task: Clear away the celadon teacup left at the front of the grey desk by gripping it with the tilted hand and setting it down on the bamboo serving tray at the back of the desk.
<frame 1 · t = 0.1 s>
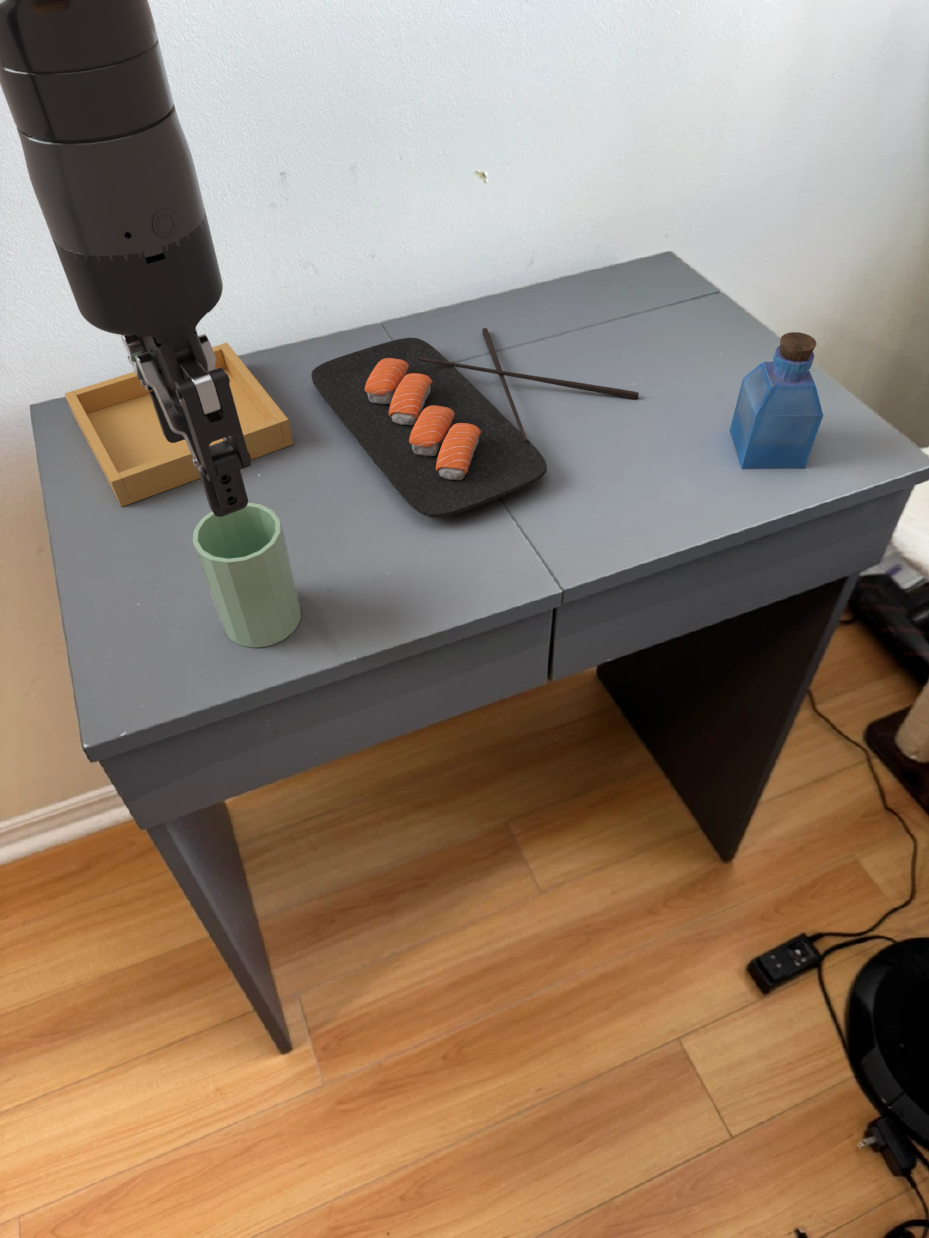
hand: (205, 471, 55), 20 cm above the table, tool pointing down, fingers open, 8 cm apart
perfume bottle: (765, 450, 88), on the table
teacup: (262, 617, 74), on the table
tray: (181, 431, 92), on the table
sushi plate: (486, 410, 93), on the table
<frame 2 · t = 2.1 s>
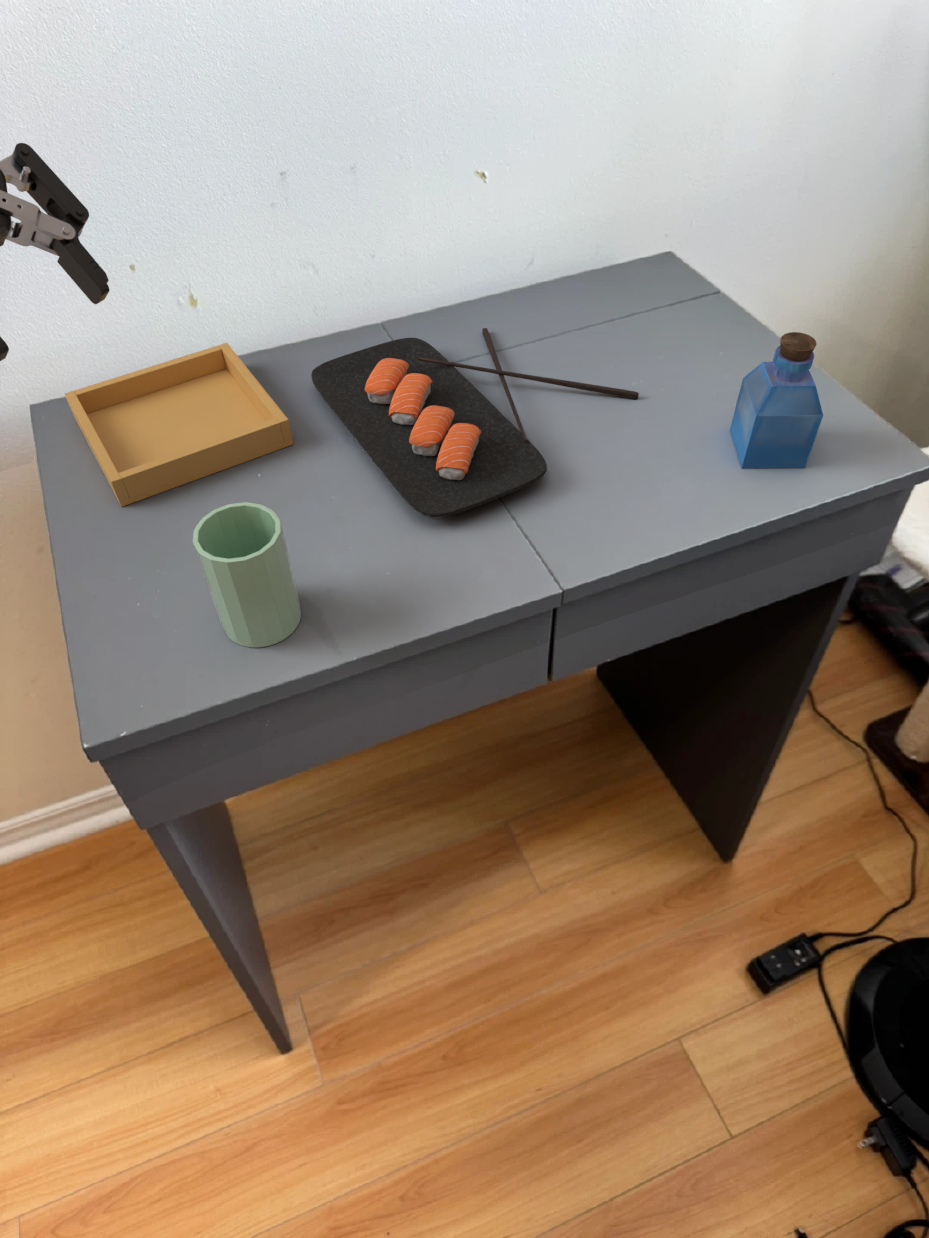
hand: (55, 326, 59), 24 cm above the table, tool tilted 45°, fingers open, 8 cm apart
nothing on the table moved.
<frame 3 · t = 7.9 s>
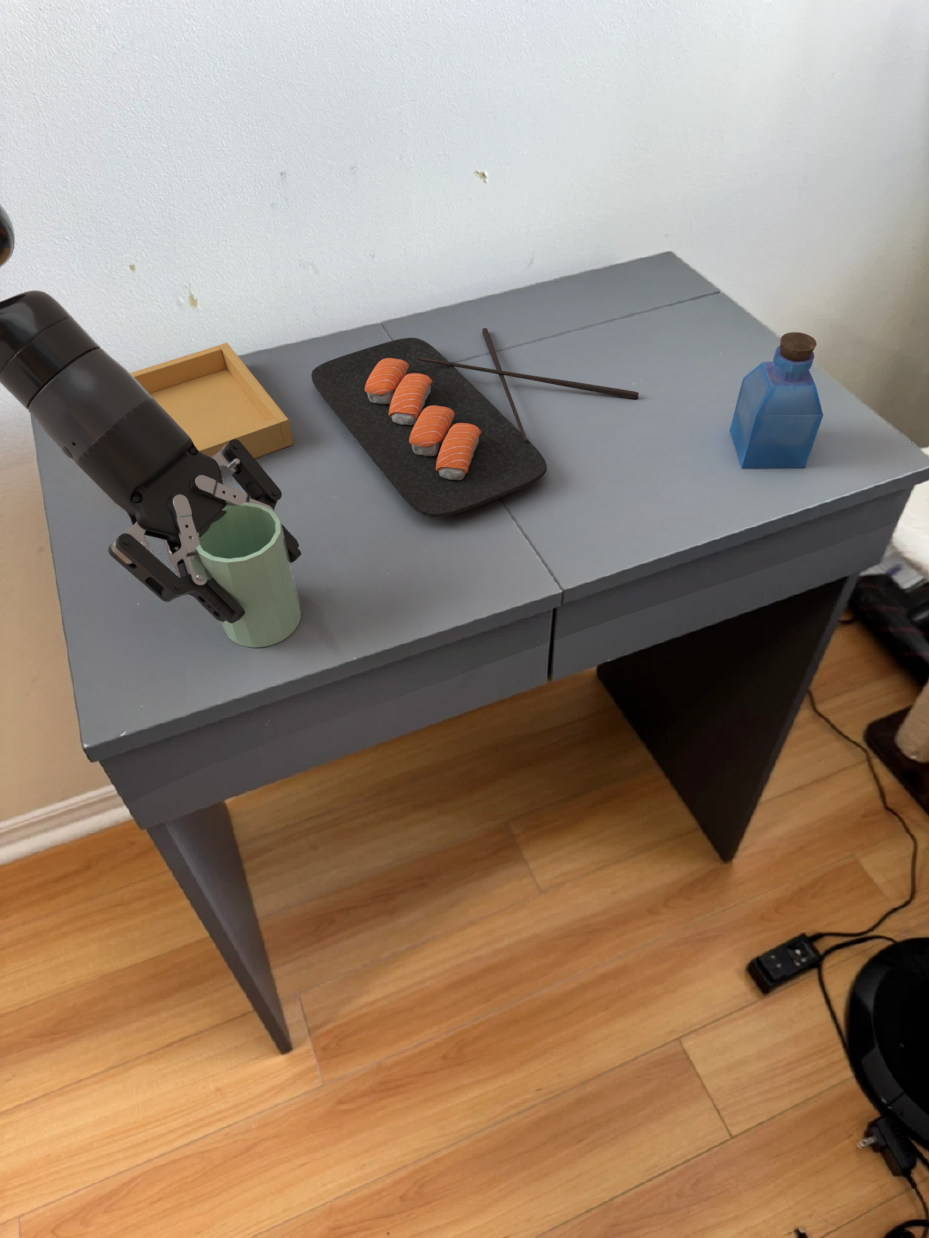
hand: (267, 587, 70), 4 cm above the table, tool tilted 45°, fingers closed on teacup, 6 cm apart
teacup: (262, 617, 74), on the table, touching gripper
everything else where it was.
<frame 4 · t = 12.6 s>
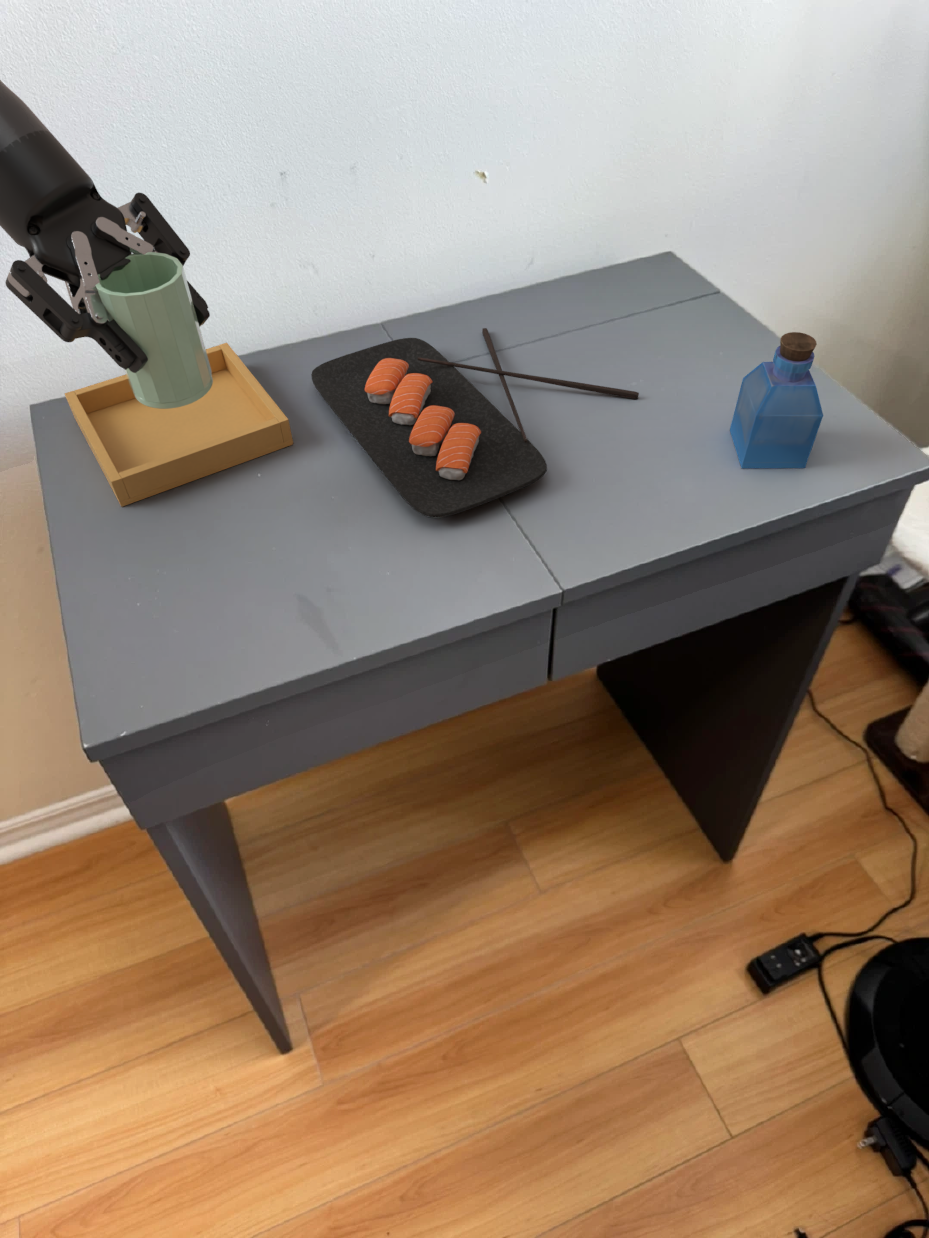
hand: (173, 343, 70), 18 cm above the table, tool tilted 45°, fingers closed on teacup, 6 cm apart
teacup: (173, 385, 74), point 13 cm above the table, touching gripper
everything else where it was.
when the fingers open (5 cm above the table, at t = 17.8 s): teacup stays where it is, resting on tray.
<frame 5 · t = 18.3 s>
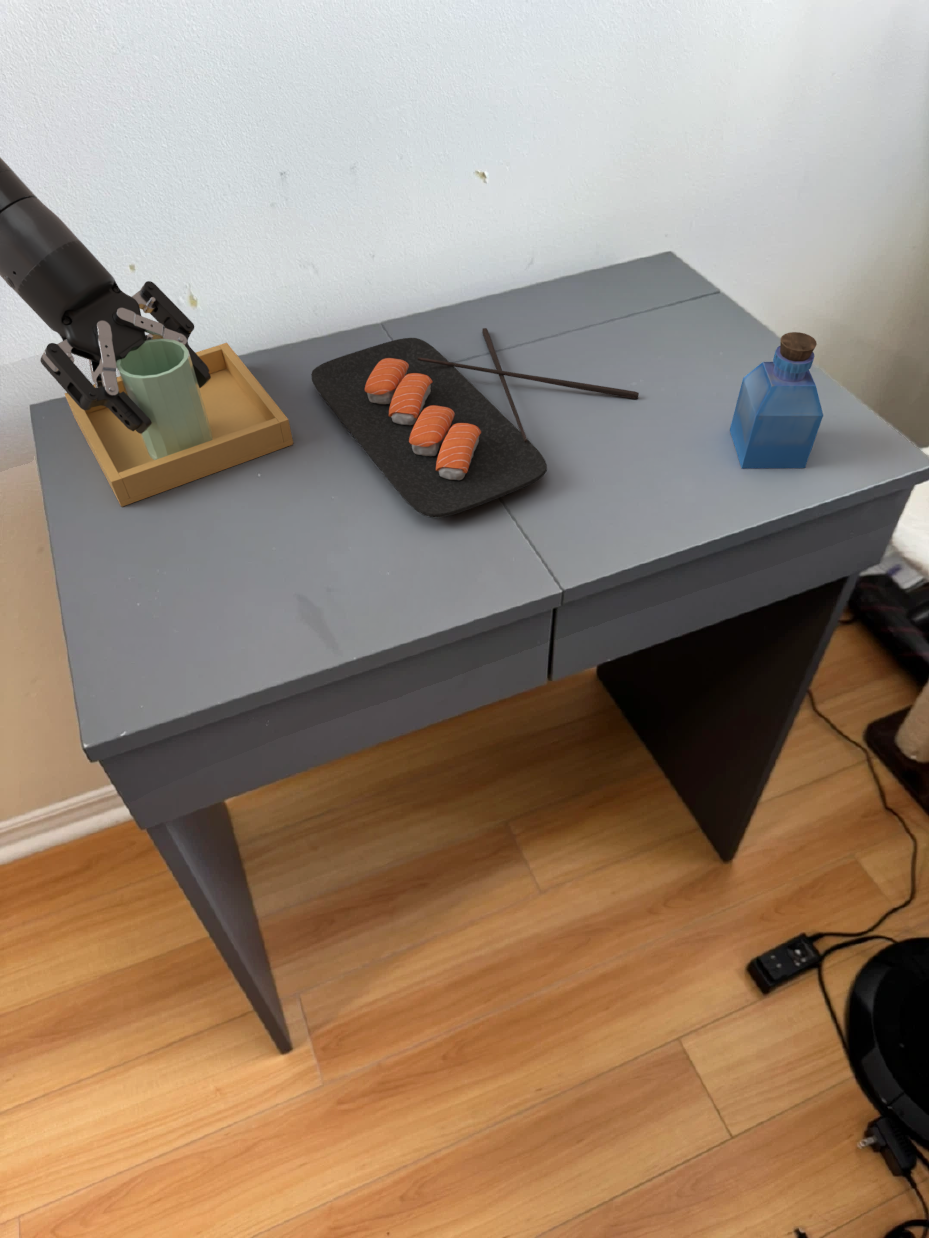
hand: (177, 405, 85), 6 cm above the table, tool tilted 45°, fingers open, 8 cm apart
teacup: (180, 444, 89), point 1 cm above the table, touching tray
everything else where it was.
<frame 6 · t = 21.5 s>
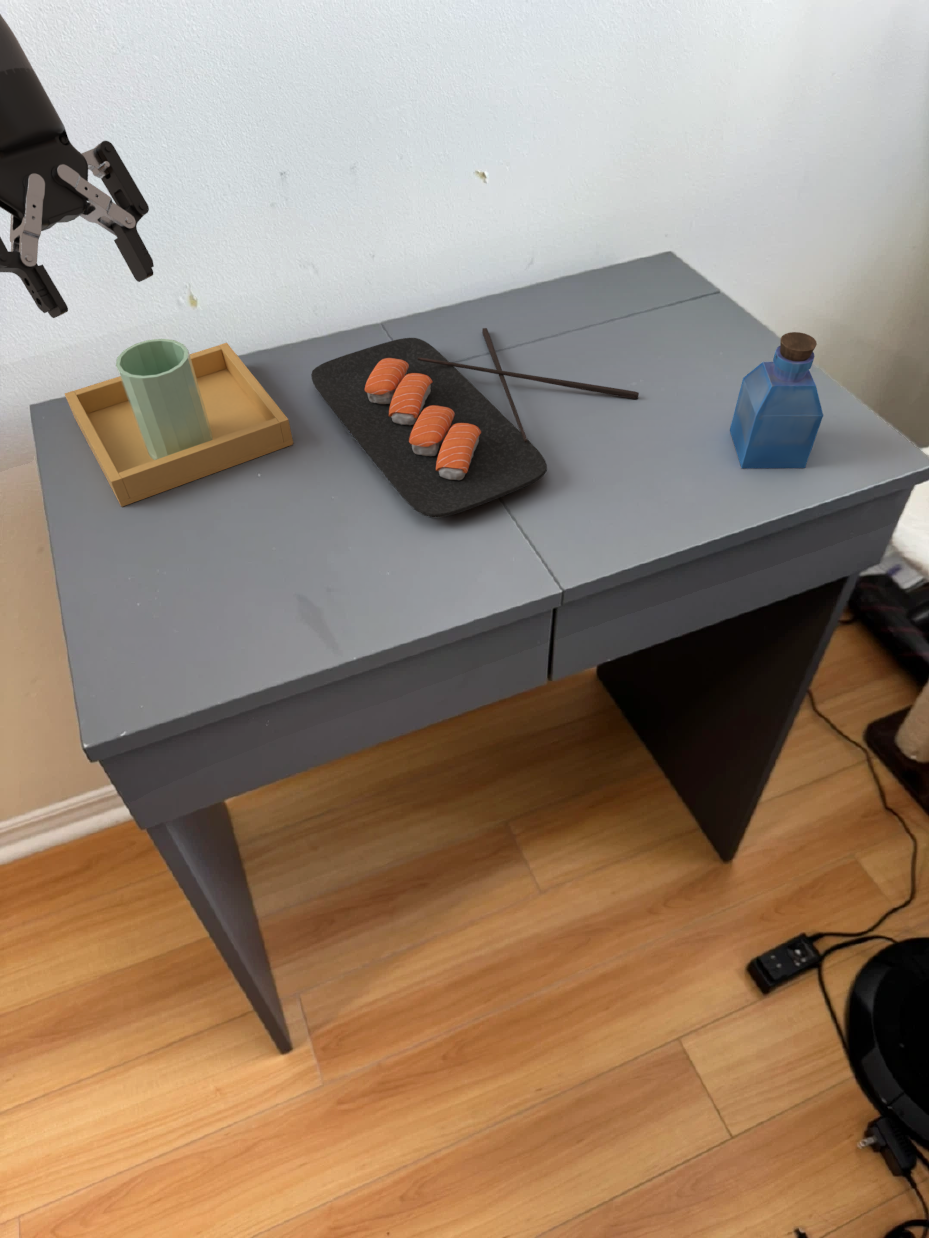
hand: (105, 296, 73), 19 cm above the table, tool tilted 30°, fingers open, 8 cm apart
nothing on the table moved.
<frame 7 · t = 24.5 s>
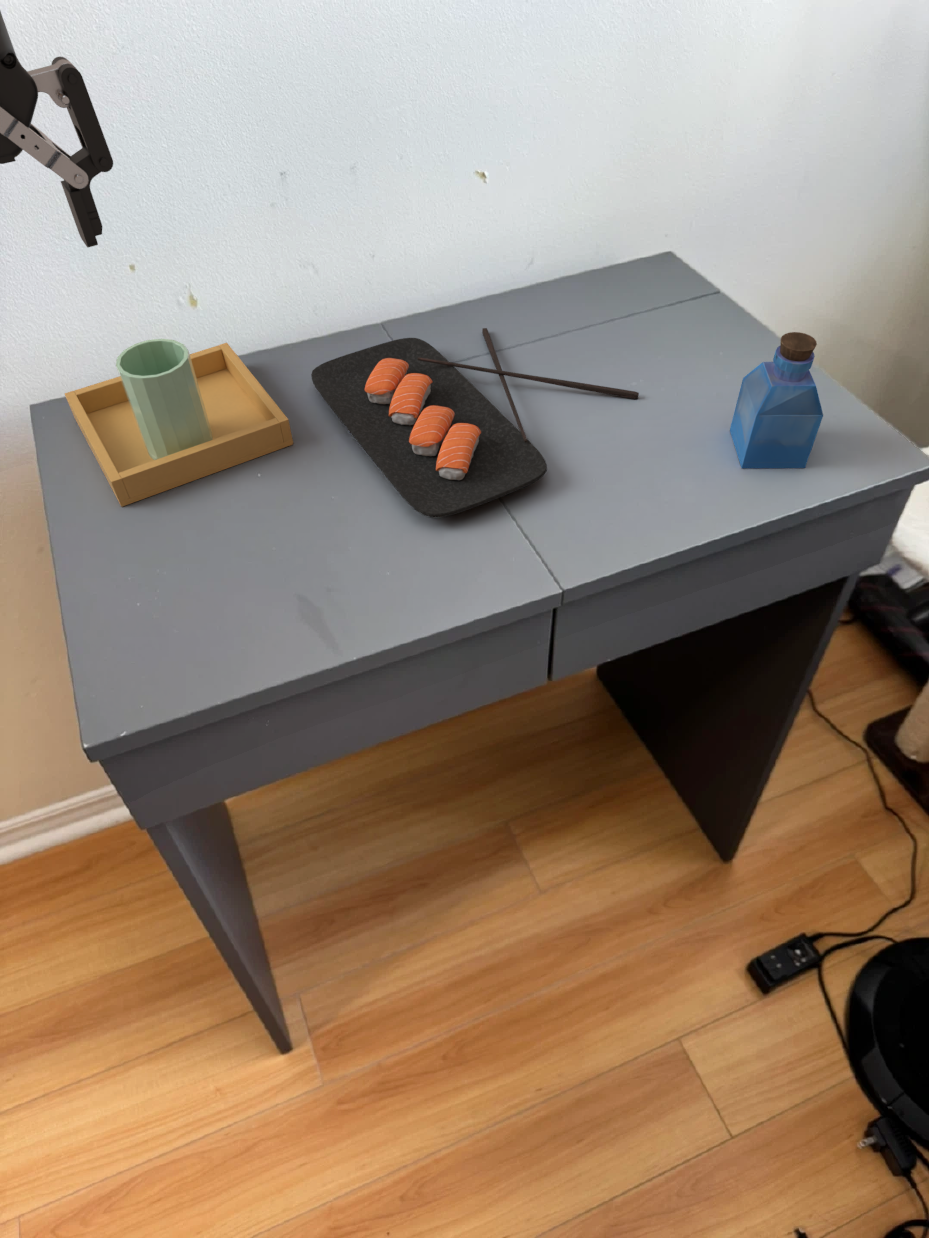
hand: (25, 258, 58), 28 cm above the table, tool pointing down, fingers open, 8 cm apart
nothing on the table moved.
at the end: teacup inside the target area in the tray (3.2 cm from its centre), point 0.6 cm above the tray's base; teacup tilted 0°; the gripper is holding nothing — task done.
